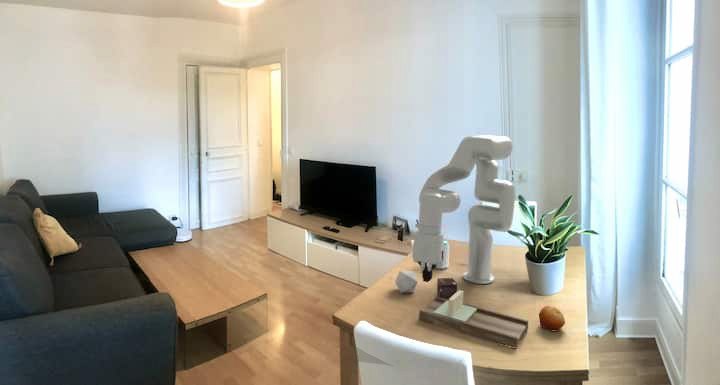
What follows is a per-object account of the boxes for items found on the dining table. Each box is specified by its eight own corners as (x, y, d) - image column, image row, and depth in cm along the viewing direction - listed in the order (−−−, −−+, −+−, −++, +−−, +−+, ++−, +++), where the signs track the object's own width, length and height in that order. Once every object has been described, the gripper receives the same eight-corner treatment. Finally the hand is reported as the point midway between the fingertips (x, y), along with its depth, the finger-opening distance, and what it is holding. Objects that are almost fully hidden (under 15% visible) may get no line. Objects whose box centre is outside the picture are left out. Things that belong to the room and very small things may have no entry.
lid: (446, 302, 157) (447, 285, 156) (476, 310, 151) (478, 293, 150) (433, 314, 148) (434, 296, 147) (465, 323, 142) (466, 305, 141)
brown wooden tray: (436, 305, 161) (436, 296, 161) (527, 330, 144) (528, 320, 143) (418, 320, 150) (419, 310, 149) (515, 349, 132) (516, 338, 132)
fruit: (535, 314, 152) (550, 298, 148) (555, 331, 149) (571, 315, 145) (529, 323, 145) (544, 307, 142) (550, 341, 142) (566, 325, 139)
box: (436, 296, 169) (437, 278, 168) (451, 295, 170) (452, 277, 168) (440, 303, 163) (441, 284, 162) (456, 302, 164) (457, 283, 162)
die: (410, 299, 168) (423, 277, 169) (391, 286, 168) (404, 265, 170) (408, 297, 176) (420, 276, 177) (389, 286, 176) (402, 265, 178)
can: (443, 270, 196) (444, 244, 193) (429, 266, 200) (430, 241, 198) (451, 266, 201) (452, 240, 199) (437, 262, 205) (438, 237, 203)
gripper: (404, 227, 151) (402, 279, 154) (446, 235, 143) (442, 289, 146) (414, 223, 157) (412, 273, 160) (455, 230, 149) (451, 282, 152)
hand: (427, 280), depth 153 cm, fingers closed
